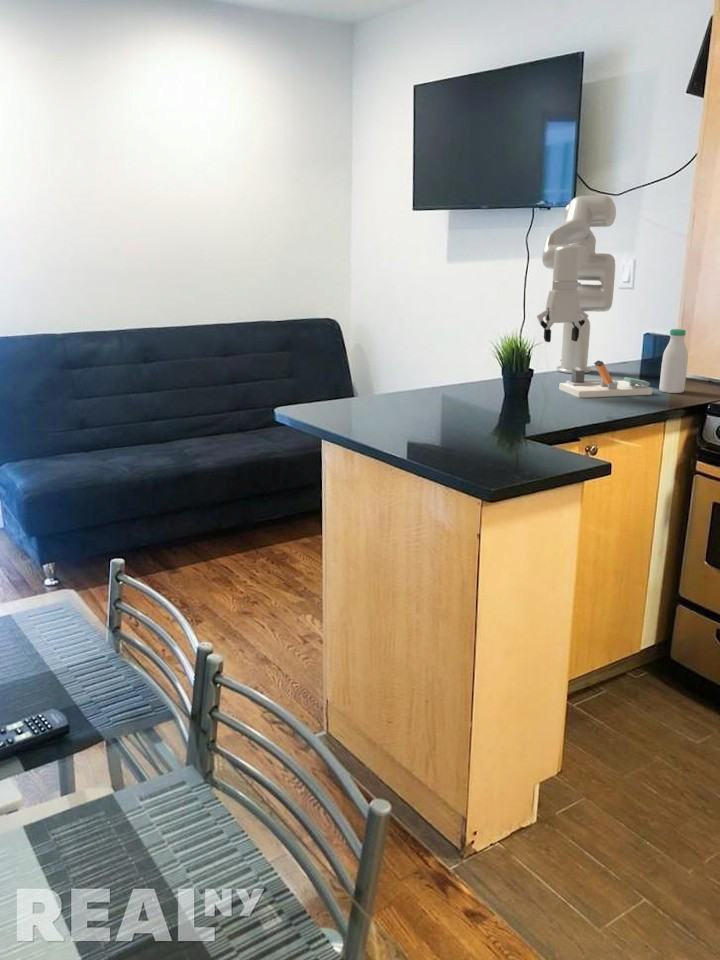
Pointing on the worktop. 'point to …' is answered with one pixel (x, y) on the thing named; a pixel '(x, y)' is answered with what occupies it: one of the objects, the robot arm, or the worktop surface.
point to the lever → (603, 372)
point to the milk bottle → (674, 363)
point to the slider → (578, 375)
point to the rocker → (636, 381)
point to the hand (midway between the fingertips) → (560, 341)
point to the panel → (603, 388)
